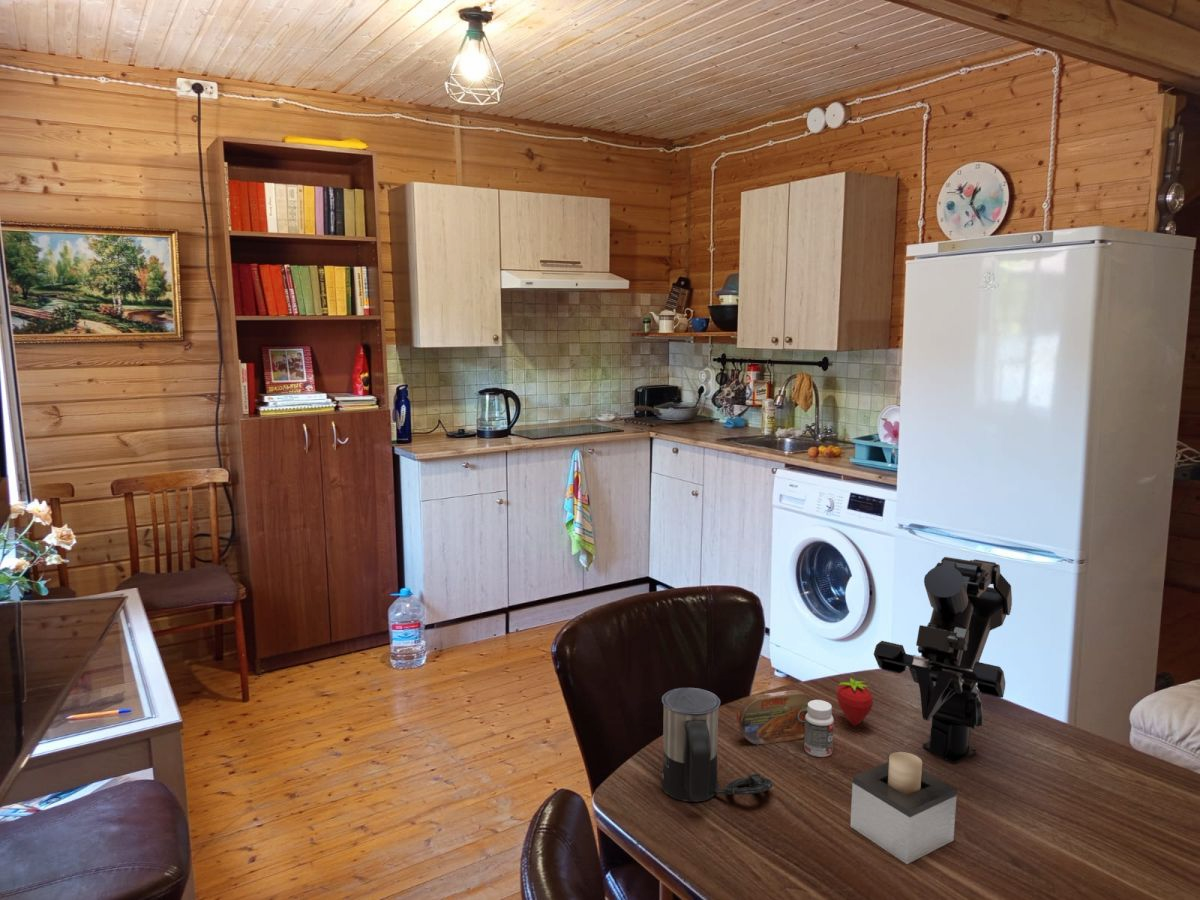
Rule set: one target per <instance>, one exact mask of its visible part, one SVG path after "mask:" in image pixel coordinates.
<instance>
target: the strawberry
mask: <svg viewBox="0 0 1200 900" xmlns="http://www.w3.org/2000/svg"><path fill="white" fill-rule="evenodd" d="M850 675H851V677H850V678H849V681H848V682H845V681H841V682H839V683H838V685H839V686H838V688H837V691H836V698H837V702H838V705H839V708H840V709H841V711H842V712H843V715H844V716H845V717H846V719H847V720H848V721H849V723H850V724H851V725H852V726H854V727H855V726H858V725H859V724H860V723H861V722H862V721H863V720H865V719H866V717H867V716H868V714H869V713H870V712H871V711H872V707H873V705H874V700H873V695H872V693H871V692H870V691H869V689H868V688H869V687H870V686H869V685H866V684H864V683H867V681H866V680H865V681H863V680H862V681H860V680H859V681H858V680H856V678H855V676H854V675H853V674H852V673H850ZM852 677H853V678H852Z"/></svg>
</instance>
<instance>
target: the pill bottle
mask: <svg viewBox="0 0 1200 900" xmlns="http://www.w3.org/2000/svg"><path fill="white" fill-rule="evenodd" d="M807 711H808V713H807V714H806V716H805V738H804V751H805V752H806V753H807V754H808V755H810V756H813V757H816V758H817V757H818V758H825V757H829V756H830V755H832V753H833V747H834V725H835V724H834V723H835V722H834V721H835V720H834V717H833V715H832V714H833V706H832V704H831V703H830V702H828V701H825V700H822V699H814V700H812V701H810V702H809V703H808V708H807Z"/></svg>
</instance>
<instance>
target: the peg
mask: <svg viewBox="0 0 1200 900" xmlns="http://www.w3.org/2000/svg"><path fill="white" fill-rule="evenodd" d="M888 758H889V760H888V762H889V772H888V785H889V786H890V787H892V788H894V789H896V790H897V791H899V792H901V793H902V794H904V795H906V796H909V795H911V794H913V793H916V792H918V791H920V788H921V773H922V770H923V761H922V759H921V758H920V757H918V755H916V754H913V753H909V752H906V751H905V752H904V751H897V752H892V753H891V754H889V757H888Z"/></svg>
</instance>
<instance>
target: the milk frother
mask: <svg viewBox="0 0 1200 900" xmlns="http://www.w3.org/2000/svg"><path fill="white" fill-rule="evenodd" d="M661 702H662V704H663V716H662V717H663V723H662V724H663V727H662V728H663V731H662V732H663V733H662V735H663V737H662V738H663V742H662V745H663V746H662V748H663V750H662V751H663V752H662V761H663V762H662V765H663V767H662V774H661V775H662V778H661V781H660V784H661V789H662V791H663V792H664V793H665V794H667V795H668V796H669V797H671V798H673V799H675V800H679V801H683V802H695V803H696V802H704V801H707V800H710V799H711V798H713V797H714V796H716V795H717V794H722V795H742V796H743V795H755V794H759V793H763V792H766V791H769V790H770V789H772V787H773V780H771V779H769V778H767V777H762V776H761V775H760V773H751V774H749V775H748V776H747V777H742V778H737V779H734V780H733V781H731V782H730V781H729V783H728V784H727V785H726V788H720V784H719V781H718V736H719V735H718V733H719V728H718V727H719V707H720V706H721V699H720V698H719V697H718V696H717V695H716V694H715V693H713V692H712V691H708V690H707V689H706V690H705V689H702V688H699V687H698V688H697V687H696V688H695V687H678V688H674V689H671V690H669V691H666V692H665V693H664V694H663V695H662V696H661ZM744 784H745V785H746V784H749V787H739V786H741V785H744Z"/></svg>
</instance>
